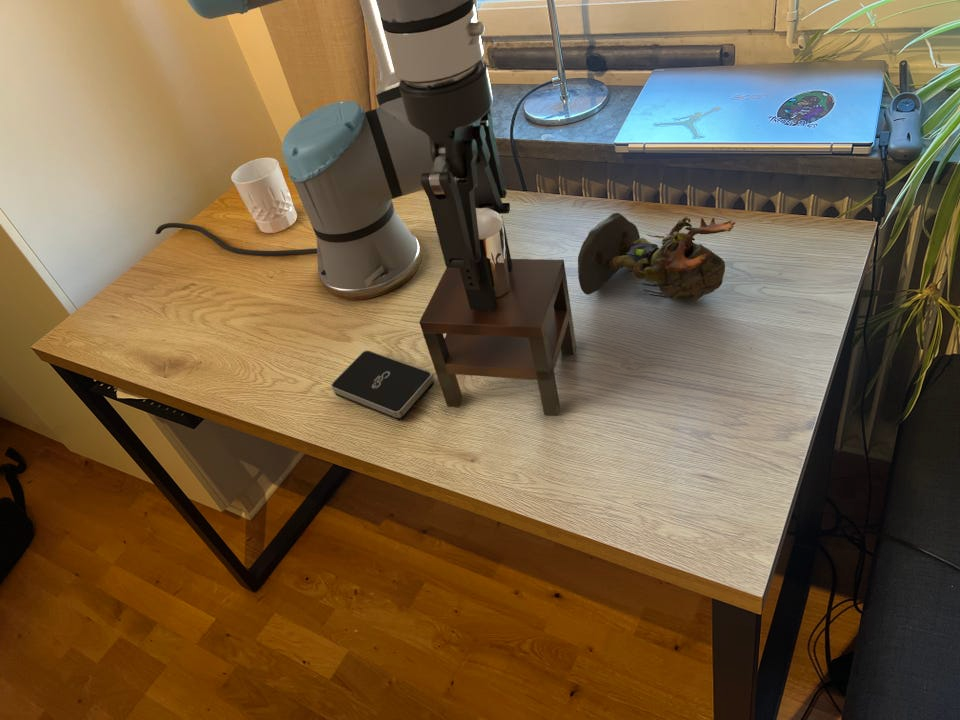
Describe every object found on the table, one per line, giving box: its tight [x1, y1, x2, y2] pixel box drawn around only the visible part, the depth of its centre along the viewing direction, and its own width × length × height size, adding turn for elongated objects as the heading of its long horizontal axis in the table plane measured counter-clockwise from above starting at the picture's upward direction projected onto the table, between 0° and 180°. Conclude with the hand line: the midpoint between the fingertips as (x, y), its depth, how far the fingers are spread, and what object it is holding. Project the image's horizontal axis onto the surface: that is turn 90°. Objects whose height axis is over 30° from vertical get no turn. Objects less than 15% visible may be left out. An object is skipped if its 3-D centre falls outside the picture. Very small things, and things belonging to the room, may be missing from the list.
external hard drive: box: [330, 349, 435, 422], centre depth 85 cm, size 7×11×2 cm, turn 56°
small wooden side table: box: [418, 258, 577, 417], centre depth 79 cm, size 13×11×13 cm
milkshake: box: [476, 208, 510, 298], centre depth 71 cm, size 5×5×10 cm
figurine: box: [577, 212, 736, 302], centre depth 87 cm, size 14×10×18 cm
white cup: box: [230, 157, 298, 234], centre depth 118 cm, size 8×8×10 cm
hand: (492, 287), depth 75 cm, fingers open, 6 cm apart
